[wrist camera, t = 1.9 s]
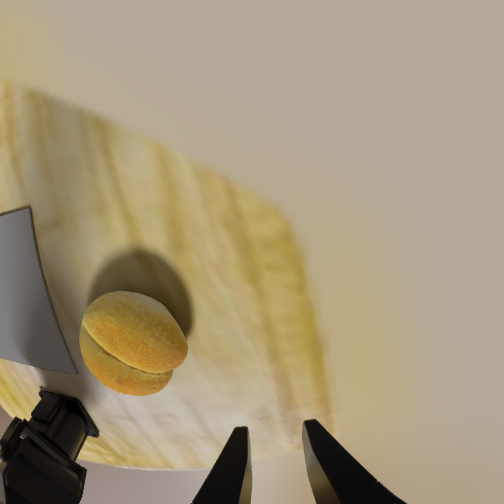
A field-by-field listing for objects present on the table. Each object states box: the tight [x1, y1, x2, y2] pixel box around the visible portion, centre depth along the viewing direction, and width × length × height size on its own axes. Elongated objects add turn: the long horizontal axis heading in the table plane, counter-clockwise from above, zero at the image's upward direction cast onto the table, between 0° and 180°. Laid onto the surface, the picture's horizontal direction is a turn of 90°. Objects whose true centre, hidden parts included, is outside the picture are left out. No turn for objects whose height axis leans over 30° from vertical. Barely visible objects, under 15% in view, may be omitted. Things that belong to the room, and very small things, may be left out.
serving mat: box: [0, 208, 78, 375], centre depth 19 cm, size 16×14×1 cm
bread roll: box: [79, 291, 188, 396], centre depth 18 cm, size 8×9×4 cm
